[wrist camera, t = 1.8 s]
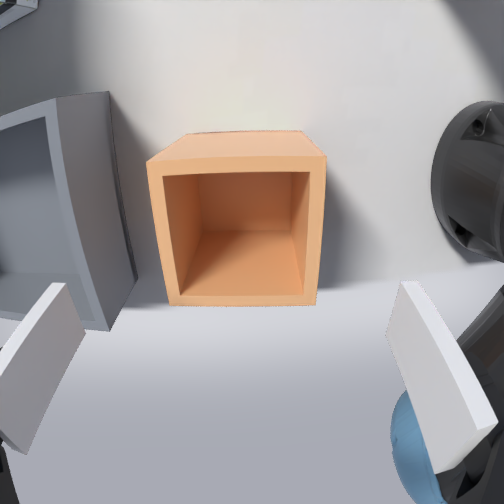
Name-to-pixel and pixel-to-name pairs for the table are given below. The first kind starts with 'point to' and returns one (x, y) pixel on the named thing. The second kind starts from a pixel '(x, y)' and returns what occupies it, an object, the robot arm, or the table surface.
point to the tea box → (15, 10)
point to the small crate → (239, 218)
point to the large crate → (63, 210)
